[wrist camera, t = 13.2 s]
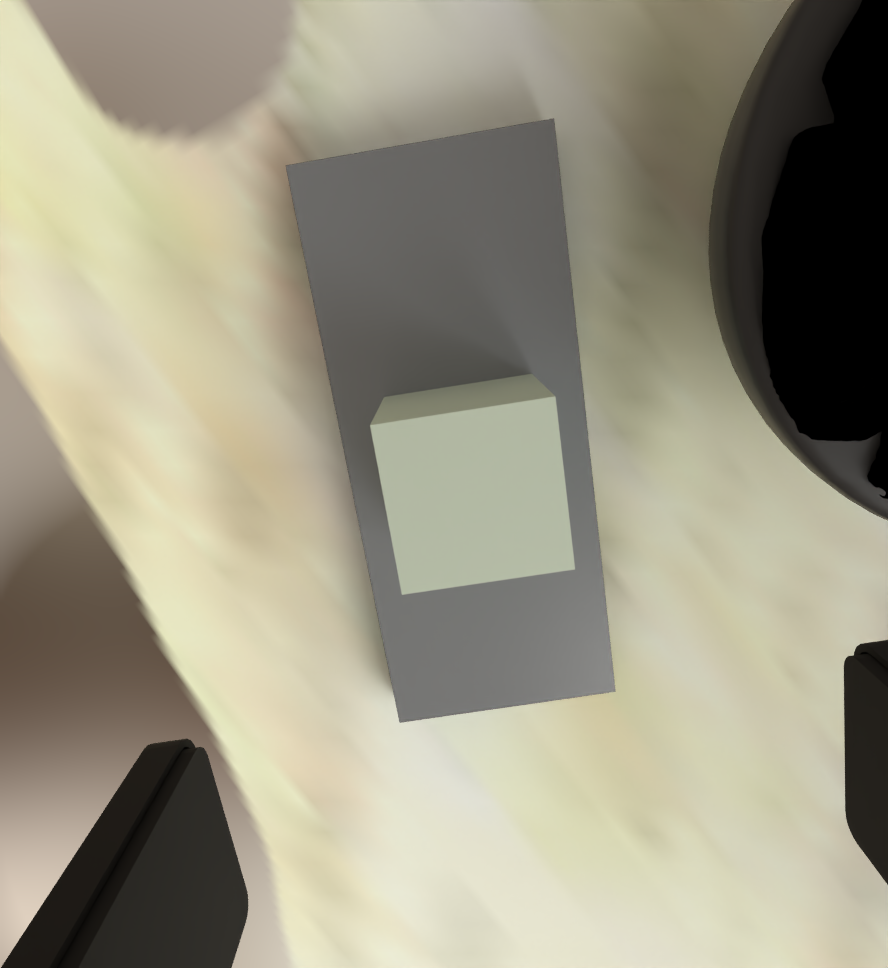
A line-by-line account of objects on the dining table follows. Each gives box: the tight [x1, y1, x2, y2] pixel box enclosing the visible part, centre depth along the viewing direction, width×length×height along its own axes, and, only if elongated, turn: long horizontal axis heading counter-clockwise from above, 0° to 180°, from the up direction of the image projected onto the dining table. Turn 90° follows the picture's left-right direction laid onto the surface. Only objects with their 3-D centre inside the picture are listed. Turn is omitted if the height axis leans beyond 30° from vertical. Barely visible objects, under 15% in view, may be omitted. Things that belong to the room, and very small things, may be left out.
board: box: [286, 119, 616, 722], centre depth 30 cm, size 10×24×2 cm, turn 9°
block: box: [370, 374, 575, 595], centre depth 26 cm, size 6×6×6 cm
